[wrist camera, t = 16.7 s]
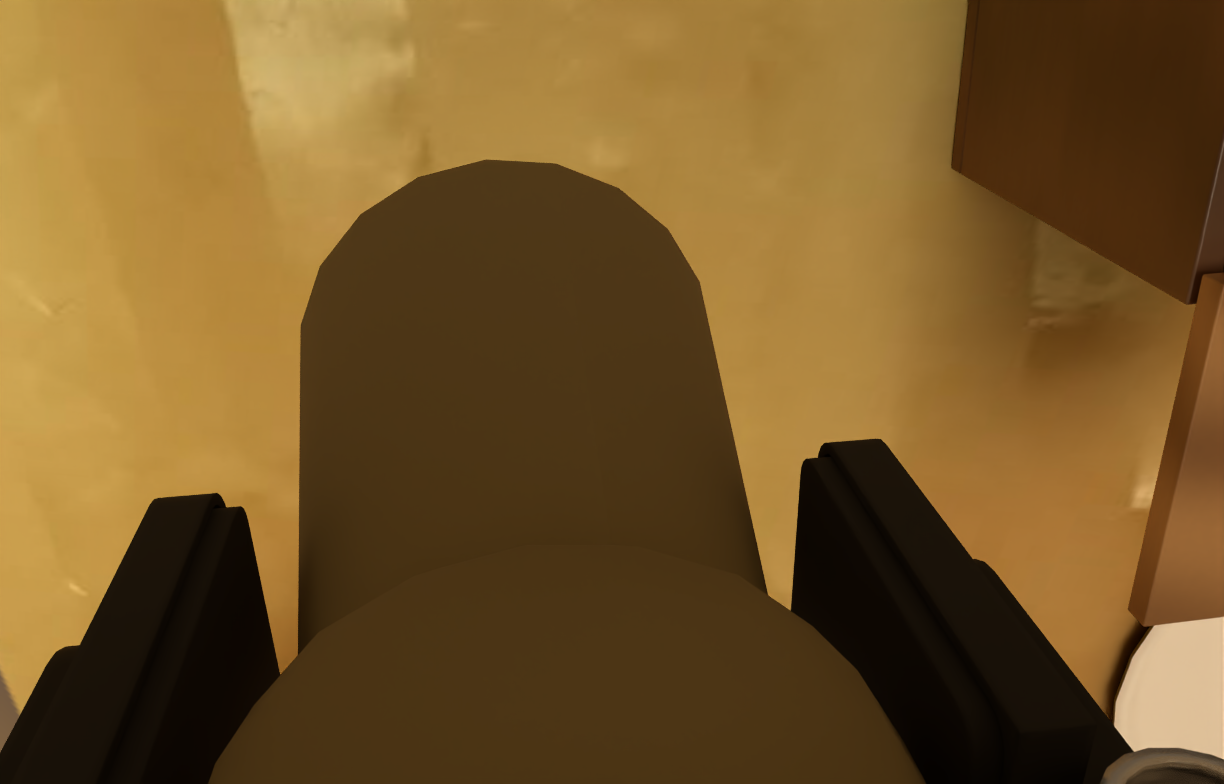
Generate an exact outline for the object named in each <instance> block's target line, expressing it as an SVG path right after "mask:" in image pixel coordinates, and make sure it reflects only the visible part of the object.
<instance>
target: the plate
mask: <svg viewBox="0 0 1224 784" xmlns="http://www.w3.org/2000/svg"><path fill="white" fill-rule="evenodd" d="M1112 724H1113V725H1114V726H1115V728H1116V729H1117V730H1118V732H1119V733H1120V734H1121V736H1122V737H1123V738H1124V739H1125V741H1126V742H1127V743H1128V745H1129V746H1130V747H1131V748H1132V750H1133V751H1134V752H1135V751H1139V750H1142V749H1146V748H1182V749H1187V750H1192V751H1197V752H1201V753H1206V754H1211V755H1214V756H1216V757H1219V758H1221V759H1224V617H1219V618H1211V619H1203V620H1195V621H1187V622H1179V623H1170V624H1162V625H1154V626H1150V627H1149V629H1148V630H1147V632H1146V633H1145V635H1144V636H1143V637H1142V639H1141V640H1140V642H1139V643H1138V645H1137V646H1136V648H1135V649H1134V651H1133V652H1132V654H1131V656H1130V658H1129V661H1128V664H1127V666H1126V669H1125V672H1124V674H1123V677H1122V680H1121V682H1120V685H1119V688H1118V690H1117V693H1116V695H1115V698H1114V707H1113V723H1112Z"/></svg>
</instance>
